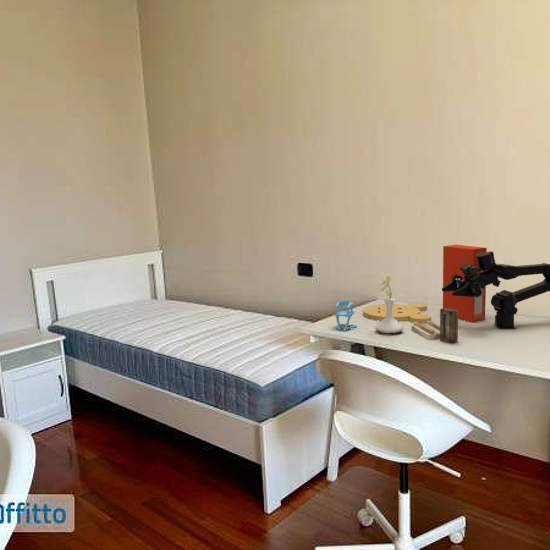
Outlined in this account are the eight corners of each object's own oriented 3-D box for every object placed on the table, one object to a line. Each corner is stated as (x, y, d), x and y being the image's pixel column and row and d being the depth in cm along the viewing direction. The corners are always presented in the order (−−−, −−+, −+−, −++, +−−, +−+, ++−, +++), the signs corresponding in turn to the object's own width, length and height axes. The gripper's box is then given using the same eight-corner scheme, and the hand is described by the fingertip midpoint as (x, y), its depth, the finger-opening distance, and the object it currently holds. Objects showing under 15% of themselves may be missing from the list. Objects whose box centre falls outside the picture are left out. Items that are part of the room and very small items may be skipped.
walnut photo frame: (445, 339, 205) (445, 307, 203) (457, 342, 200) (458, 310, 198) (439, 340, 204) (440, 308, 202) (452, 344, 199) (452, 311, 196)
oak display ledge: (431, 328, 221) (431, 320, 220) (450, 337, 206) (450, 329, 206) (411, 330, 219) (411, 322, 219) (428, 340, 205) (428, 331, 204)
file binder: (471, 323, 227) (473, 249, 221) (442, 315, 242) (443, 245, 237) (485, 320, 230) (487, 247, 225) (455, 312, 245) (456, 244, 240)
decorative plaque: (361, 323, 234) (431, 324, 228) (361, 318, 233) (431, 319, 227) (364, 307, 264) (426, 308, 258) (364, 302, 263) (426, 303, 257)
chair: (332, 330, 224) (332, 303, 221) (339, 325, 231) (339, 298, 229) (350, 332, 220) (349, 304, 218) (356, 327, 227) (356, 300, 225)
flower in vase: (376, 327, 225) (376, 269, 221) (403, 328, 222) (404, 270, 218) (373, 336, 213) (373, 275, 209) (402, 337, 210) (402, 275, 206)
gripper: (466, 258, 222) (432, 270, 221) (489, 264, 204) (452, 277, 203) (472, 282, 224) (438, 294, 223) (496, 290, 206) (459, 304, 205)
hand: (447, 292), depth 213 cm, fingers open, 9 cm apart
